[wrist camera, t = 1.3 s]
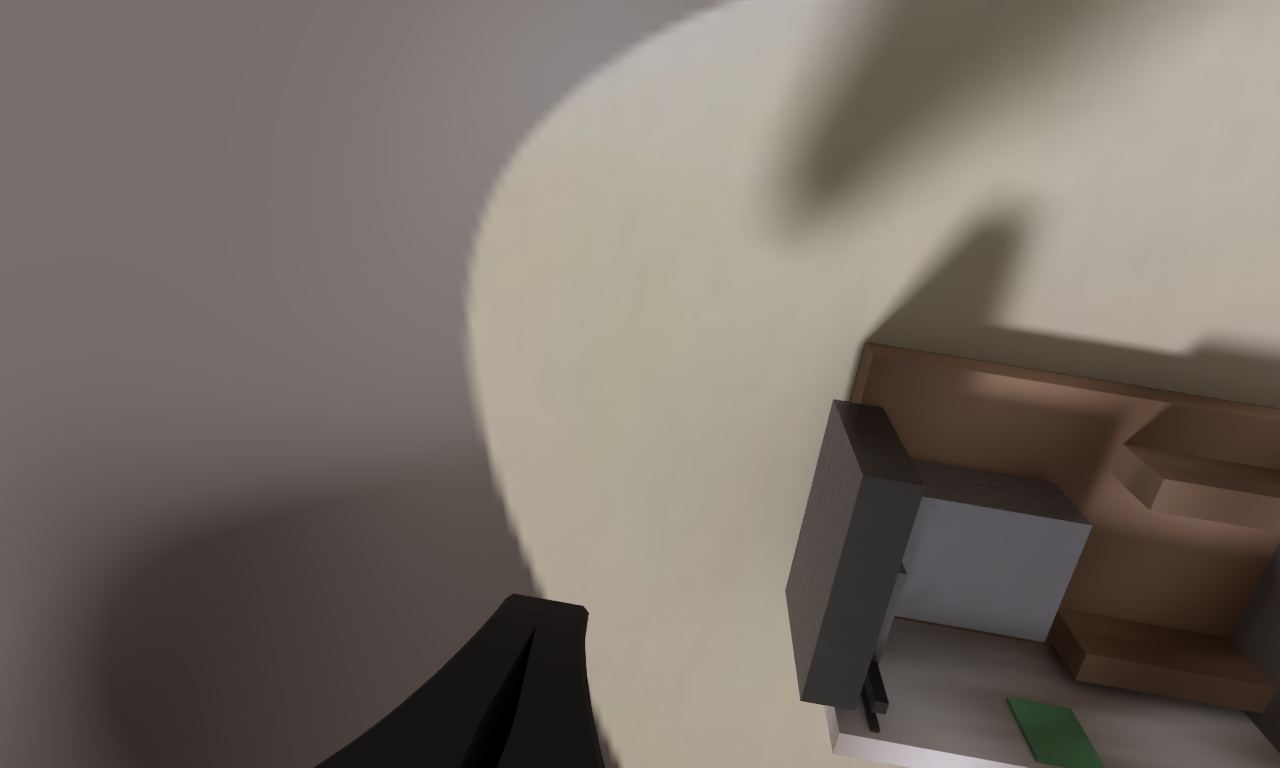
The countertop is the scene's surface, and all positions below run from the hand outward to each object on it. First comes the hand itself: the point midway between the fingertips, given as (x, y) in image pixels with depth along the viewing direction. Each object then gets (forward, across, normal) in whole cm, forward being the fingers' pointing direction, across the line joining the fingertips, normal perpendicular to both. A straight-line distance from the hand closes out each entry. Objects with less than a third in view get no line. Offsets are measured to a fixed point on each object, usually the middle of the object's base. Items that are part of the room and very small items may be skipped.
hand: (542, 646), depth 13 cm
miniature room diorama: (+8, -11, 0) cm, 14 cm away
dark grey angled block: (+7, -8, 0) cm, 11 cm away
